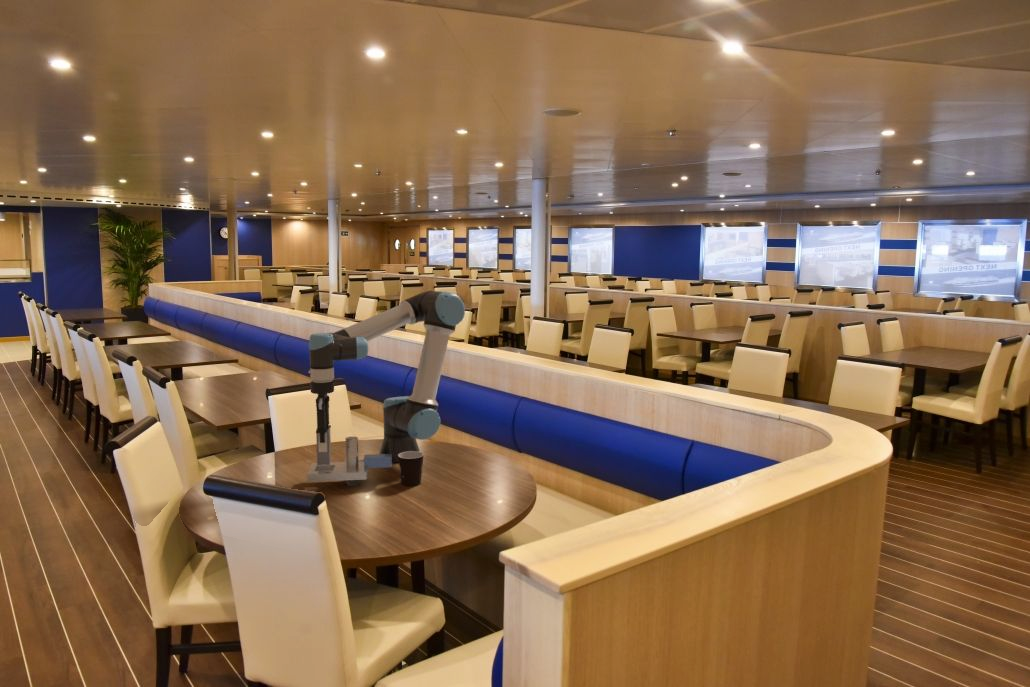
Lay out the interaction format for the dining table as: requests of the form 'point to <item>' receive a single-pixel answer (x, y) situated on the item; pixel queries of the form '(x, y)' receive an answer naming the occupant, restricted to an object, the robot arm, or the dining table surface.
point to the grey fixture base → (349, 466)
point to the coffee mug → (411, 467)
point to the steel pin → (324, 457)
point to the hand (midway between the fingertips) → (323, 449)
